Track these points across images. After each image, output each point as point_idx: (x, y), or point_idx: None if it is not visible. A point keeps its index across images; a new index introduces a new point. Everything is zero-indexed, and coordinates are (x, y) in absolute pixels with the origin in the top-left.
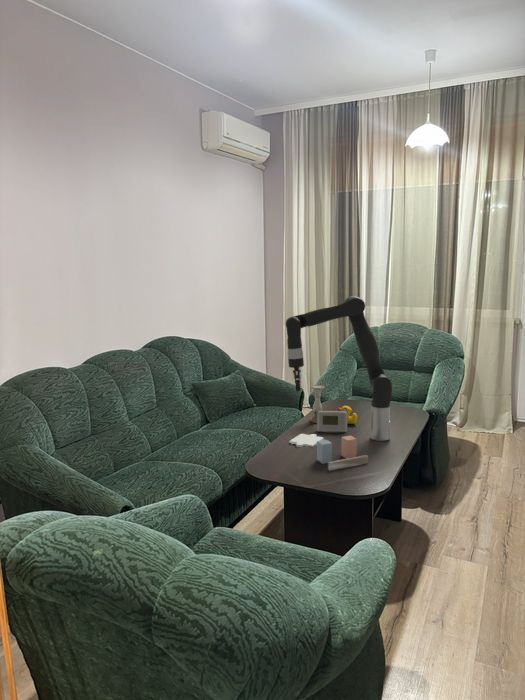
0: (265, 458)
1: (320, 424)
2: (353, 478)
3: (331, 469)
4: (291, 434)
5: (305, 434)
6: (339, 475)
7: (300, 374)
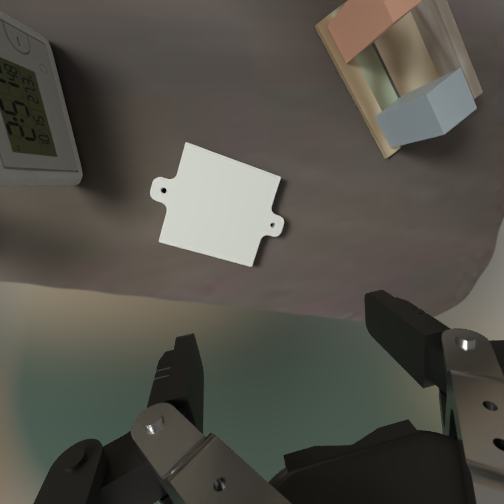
0: None
1: (60, 167)
2: (491, 25)
3: None
4: (148, 280)
5: (165, 223)
6: None
7: (465, 463)
